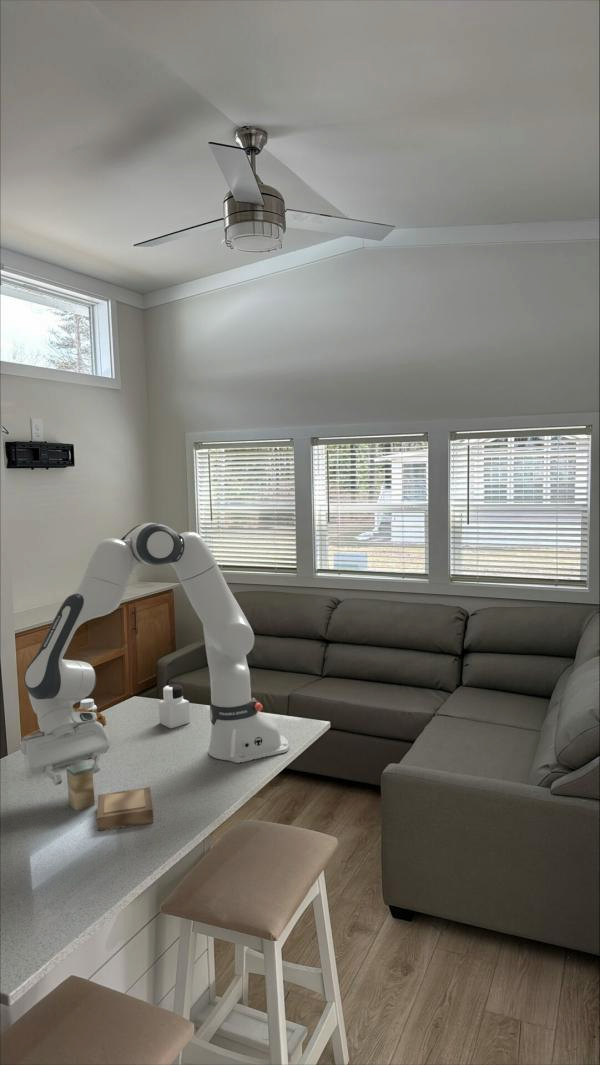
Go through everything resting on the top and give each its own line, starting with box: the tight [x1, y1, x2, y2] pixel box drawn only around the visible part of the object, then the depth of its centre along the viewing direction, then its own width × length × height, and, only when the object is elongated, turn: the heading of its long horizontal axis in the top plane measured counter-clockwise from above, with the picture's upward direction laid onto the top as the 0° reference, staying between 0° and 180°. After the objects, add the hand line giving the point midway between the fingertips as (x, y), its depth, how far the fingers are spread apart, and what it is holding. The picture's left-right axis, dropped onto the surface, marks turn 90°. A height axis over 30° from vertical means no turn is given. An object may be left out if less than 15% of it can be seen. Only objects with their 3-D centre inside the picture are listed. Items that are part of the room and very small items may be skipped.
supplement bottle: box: [78, 698, 98, 713], centre depth 217 cm, size 6×6×10 cm
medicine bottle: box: [158, 683, 191, 729], centre depth 222 cm, size 7×7×12 cm
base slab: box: [96, 786, 154, 832], centre depth 163 cm, size 12×12×3 cm
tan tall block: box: [65, 761, 96, 811], centre depth 169 cm, size 5×5×9 cm
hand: (77, 777), depth 169 cm, fingers open, 8 cm apart
